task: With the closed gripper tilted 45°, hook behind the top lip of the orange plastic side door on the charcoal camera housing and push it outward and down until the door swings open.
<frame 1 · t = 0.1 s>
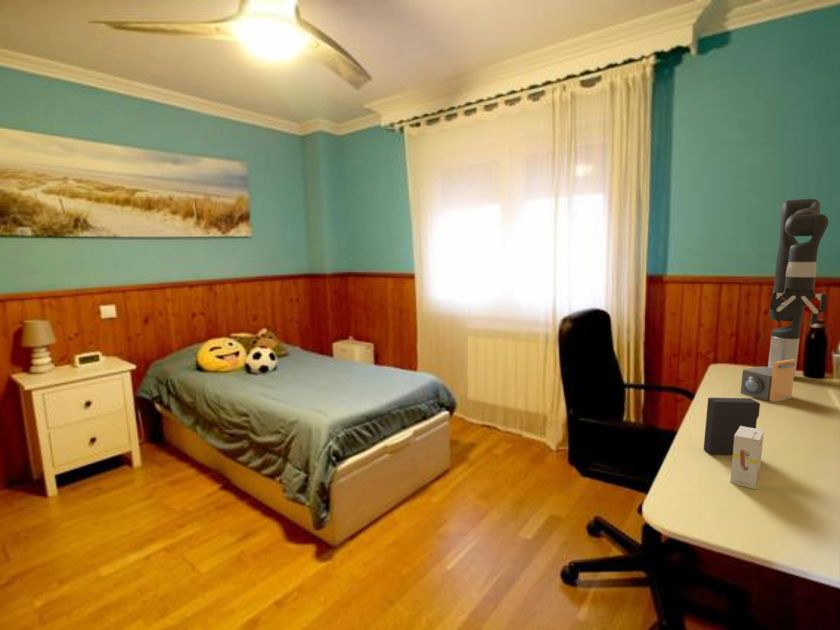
hand: (795, 323, 147), 29 cm above the table, tool pointing down, fingers open, 8 cm apart
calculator: (727, 453, 117), on the table
side door: (783, 381, 154), point 8 cm above the table, hinge at 0.0°
camera housing: (763, 397, 160), on the table
ink box: (744, 480, 103), on the table
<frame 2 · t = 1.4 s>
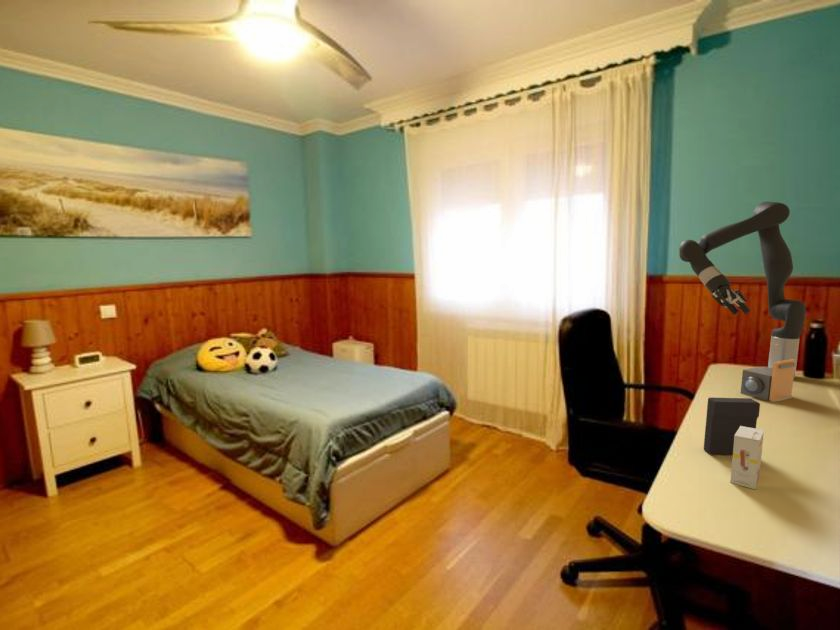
hand: (742, 312, 165), 30 cm above the table, tool tilted 45°, fingers open, 6 cm apart
nothing on the table moved.
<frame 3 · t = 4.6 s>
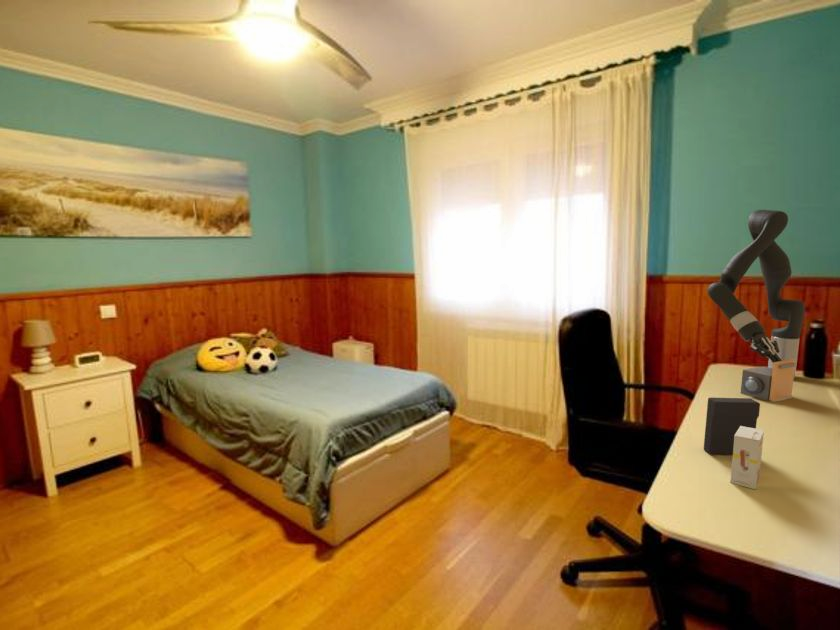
hand: (780, 365, 154), 13 cm above the table, tool tilted 45°, fingers closed
side door: (783, 381, 154), point 8 cm above the table, hinge at 0.2°, touching gripper
everything else where it was.
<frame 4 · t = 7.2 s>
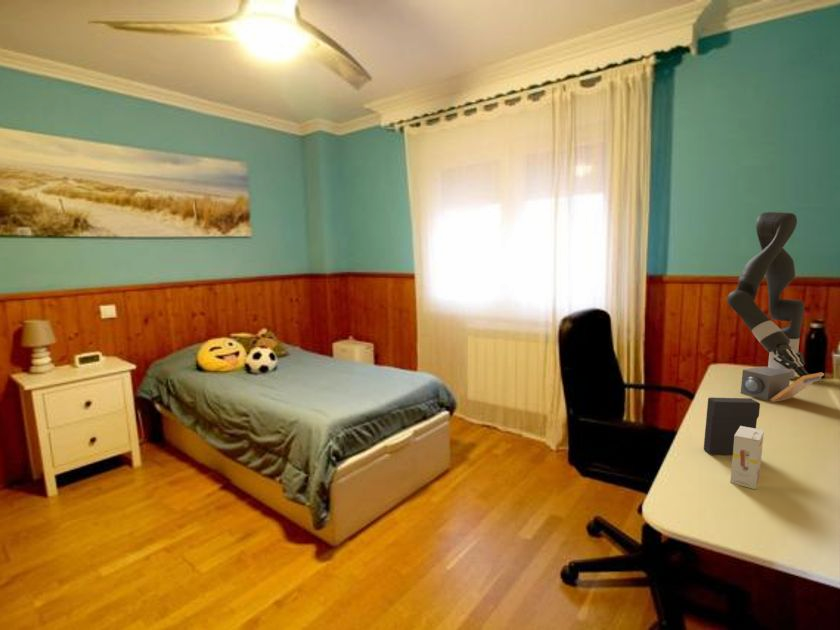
hand: (806, 377, 147), 11 cm above the table, tool tilted 45°, fingers closed
side door: (796, 388, 150), point 6 cm above the table, hinge at 38.6°, touching gripper
everything else where it was.
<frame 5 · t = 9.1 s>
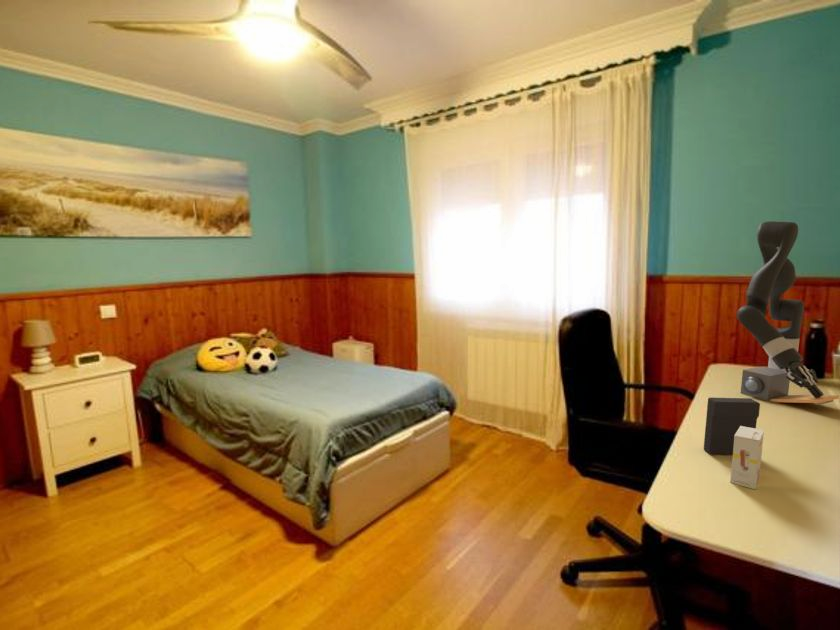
hand: (819, 396, 144), 5 cm above the table, tool tilted 45°, fingers closed
side door: (803, 399, 149), point 3 cm above the table, hinge at 73.3°, touching gripper
everything else where it was.
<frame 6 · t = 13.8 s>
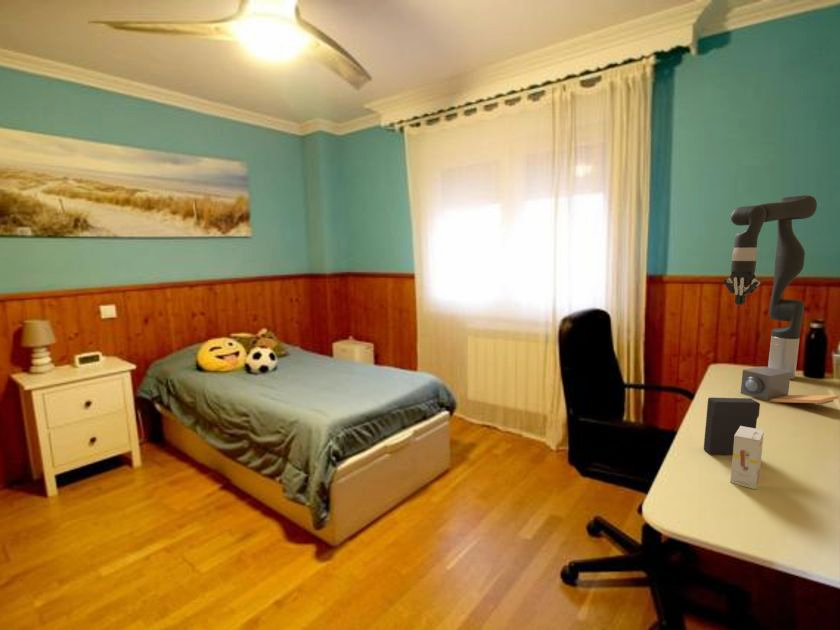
hand: (739, 304, 168), 33 cm above the table, tool pointing down, fingers closed
side door: (803, 400, 149), point 3 cm above the table, hinge at 73.4°
everything else where it was.
at the end: side door at +73° (first picture: +0°) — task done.
